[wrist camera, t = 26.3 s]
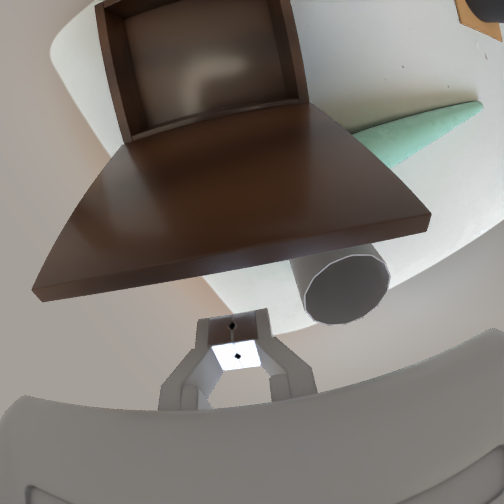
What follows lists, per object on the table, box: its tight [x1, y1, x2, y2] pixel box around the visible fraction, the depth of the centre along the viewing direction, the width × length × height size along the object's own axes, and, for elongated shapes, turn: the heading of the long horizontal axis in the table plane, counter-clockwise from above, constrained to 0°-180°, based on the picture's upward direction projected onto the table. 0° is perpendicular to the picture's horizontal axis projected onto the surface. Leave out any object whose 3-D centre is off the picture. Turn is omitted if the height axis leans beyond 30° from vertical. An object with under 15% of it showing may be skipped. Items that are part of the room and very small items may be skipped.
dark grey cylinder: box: [465, 0, 504, 23], centre depth 9 cm, size 6×6×9 cm
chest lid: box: [32, 103, 431, 302], centre depth 13 cm, size 14×15×1 cm
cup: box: [289, 243, 391, 326], centre depth 27 cm, size 8×8×10 cm
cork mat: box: [455, 0, 502, 42], centre depth 13 cm, size 10×10×1 cm
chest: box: [95, 0, 309, 144], centre depth 17 cm, size 14×15×6 cm
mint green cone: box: [352, 101, 483, 169], centre depth 22 cm, size 5×6×27 cm
